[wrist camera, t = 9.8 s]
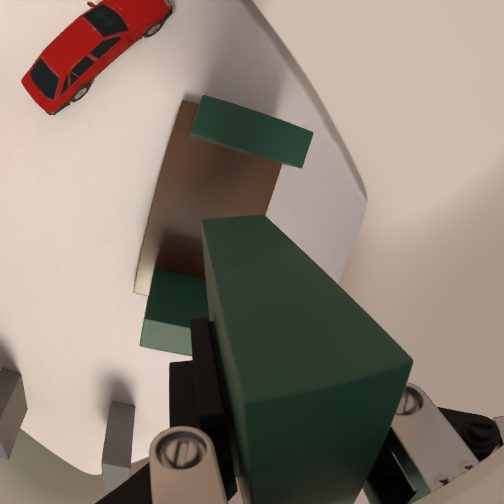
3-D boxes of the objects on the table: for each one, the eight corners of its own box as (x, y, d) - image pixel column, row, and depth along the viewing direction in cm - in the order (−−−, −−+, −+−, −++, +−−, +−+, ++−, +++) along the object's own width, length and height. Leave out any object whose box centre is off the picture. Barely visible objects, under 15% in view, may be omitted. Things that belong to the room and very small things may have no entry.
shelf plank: (287, 134, 28) (292, 134, 27) (230, 306, 33) (232, 313, 32) (182, 101, 25) (182, 99, 24) (135, 286, 30) (133, 292, 29)
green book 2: (197, 110, 25) (203, 94, 16) (274, 134, 27) (314, 132, 18) (188, 137, 25) (190, 133, 17) (266, 160, 27) (302, 168, 19)
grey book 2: (135, 406, 35) (130, 468, 26) (131, 436, 37) (128, 494, 28) (111, 401, 34) (101, 462, 25) (109, 432, 36) (103, 489, 27)
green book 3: (264, 214, 12) (415, 359, 4) (266, 362, 14) (337, 532, 6) (200, 219, 12) (243, 402, 3) (215, 368, 14) (255, 552, 6)
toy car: (180, 19, 23) (180, -3, 18) (62, 123, 24) (40, 121, 19) (141, -19, 20) (135, -43, 16) (27, 82, 21) (2, 75, 17)
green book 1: (154, 267, 28) (144, 318, 20) (226, 284, 30) (243, 337, 22) (149, 290, 29) (139, 346, 21) (219, 305, 31) (234, 363, 23)
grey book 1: (21, 374, 31) (-5, 428, 21) (27, 409, 32) (8, 460, 23) (1, 367, 30) (-27, 418, 20) (9, 402, 31) (-12, 451, 22)
